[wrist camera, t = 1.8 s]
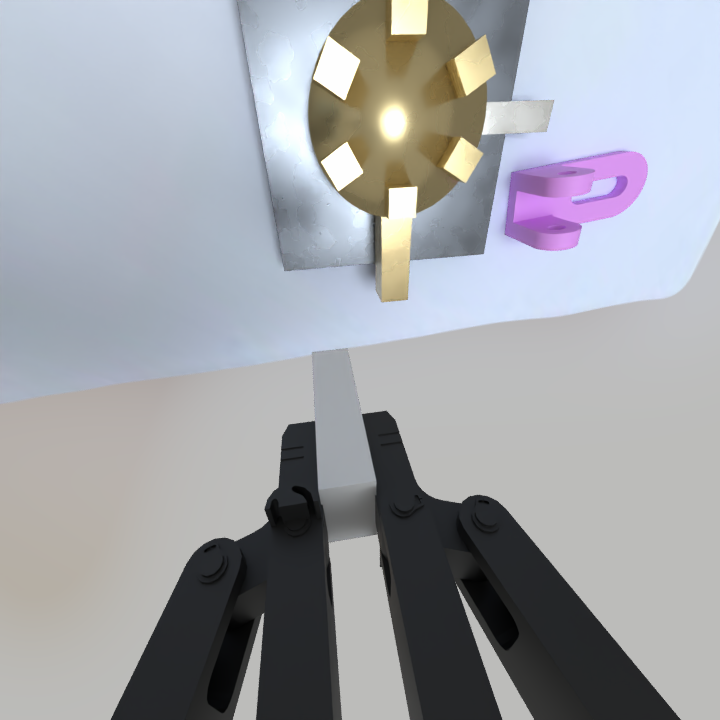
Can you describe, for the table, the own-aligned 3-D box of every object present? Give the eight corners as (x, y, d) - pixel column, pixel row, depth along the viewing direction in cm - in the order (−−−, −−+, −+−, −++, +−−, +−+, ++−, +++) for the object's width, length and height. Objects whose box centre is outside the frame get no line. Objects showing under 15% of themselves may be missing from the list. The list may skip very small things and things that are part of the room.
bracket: (504, 234, 33) (546, 253, 27) (510, 172, 30) (560, 179, 24) (624, 209, 33) (690, 223, 28) (643, 146, 30) (722, 147, 24)
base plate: (285, 262, 31) (284, 271, 29) (226, -89, 19) (216, -117, 17) (504, 244, 33) (517, 251, 31) (573, -80, 21) (602, -103, 19)
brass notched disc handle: (295, 5, 20) (294, -26, 16) (481, 4, 21) (519, -25, 17) (326, 294, 31) (329, 315, 27) (446, 283, 32) (465, 301, 28)
